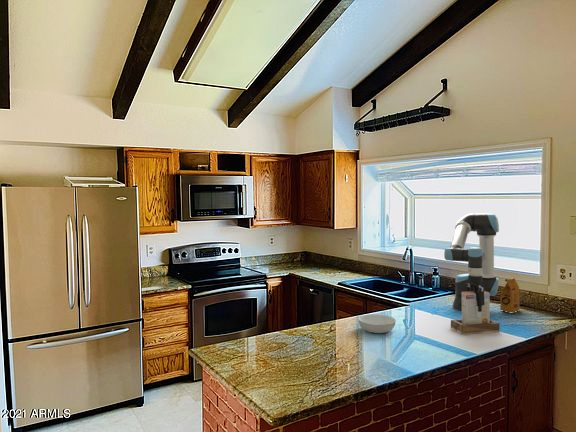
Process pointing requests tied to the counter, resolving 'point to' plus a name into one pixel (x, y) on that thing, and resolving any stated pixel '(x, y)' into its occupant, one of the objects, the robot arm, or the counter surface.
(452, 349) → the counter surface
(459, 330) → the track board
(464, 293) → the cracker box
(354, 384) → the counter surface
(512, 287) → the coffee package
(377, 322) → the serving bowl
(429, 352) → the counter surface
